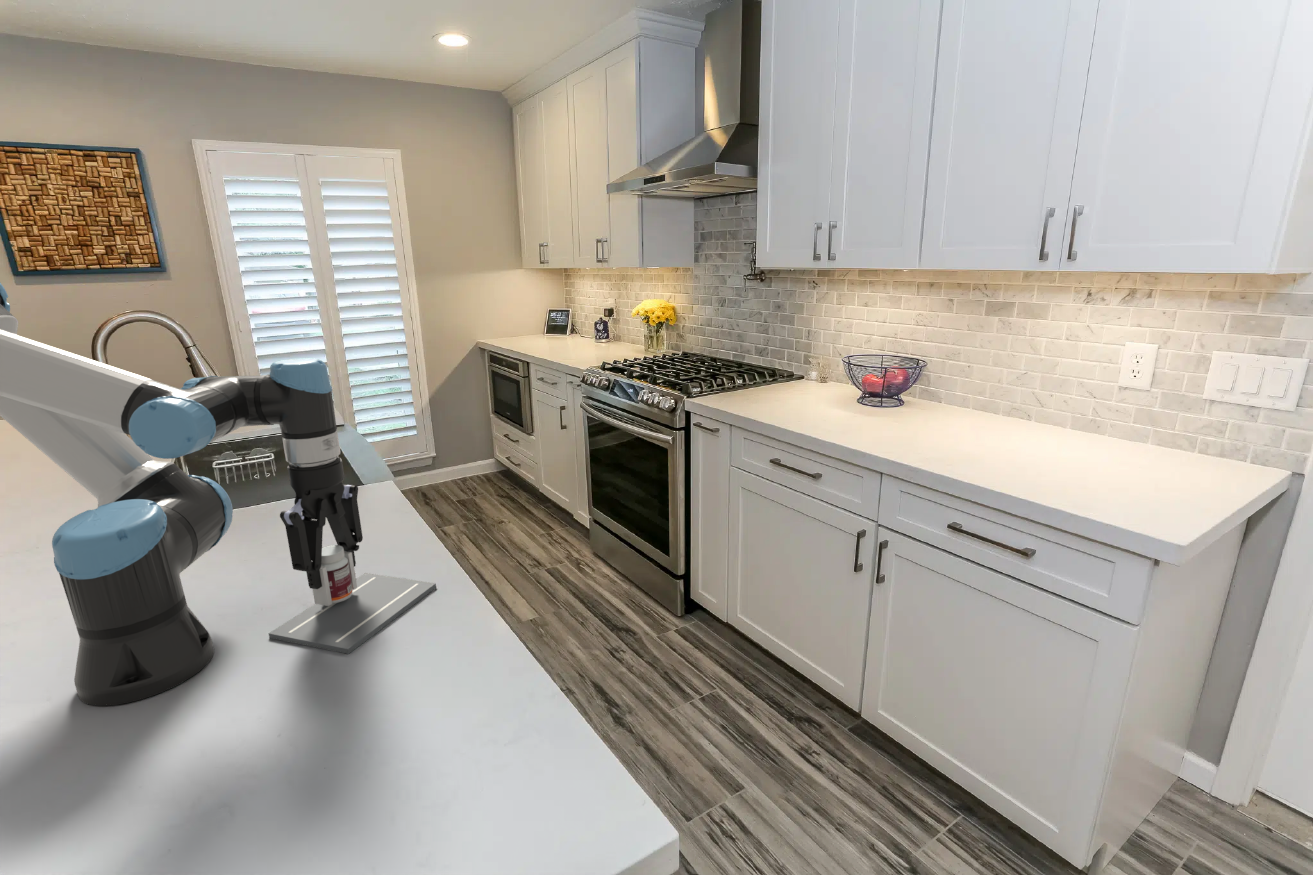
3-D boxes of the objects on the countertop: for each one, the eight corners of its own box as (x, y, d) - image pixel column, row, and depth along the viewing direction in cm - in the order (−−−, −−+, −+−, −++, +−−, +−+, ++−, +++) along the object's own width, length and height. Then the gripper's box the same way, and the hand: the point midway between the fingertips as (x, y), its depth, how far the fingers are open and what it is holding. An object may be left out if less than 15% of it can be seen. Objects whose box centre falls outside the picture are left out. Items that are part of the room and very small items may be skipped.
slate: (348, 653, 92) (347, 648, 91) (269, 637, 96) (268, 633, 96) (436, 587, 110) (435, 583, 110) (366, 576, 115) (365, 572, 114)
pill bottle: (314, 600, 104) (306, 553, 101) (339, 587, 108) (332, 541, 106) (334, 607, 102) (326, 558, 99) (359, 593, 106) (352, 547, 103)
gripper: (285, 480, 89) (311, 627, 95) (375, 446, 106) (392, 573, 112) (244, 475, 91) (272, 620, 97) (338, 442, 108) (357, 568, 114)
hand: (336, 595), depth 105 cm, fingers closed on pill bottle, 5 cm apart
